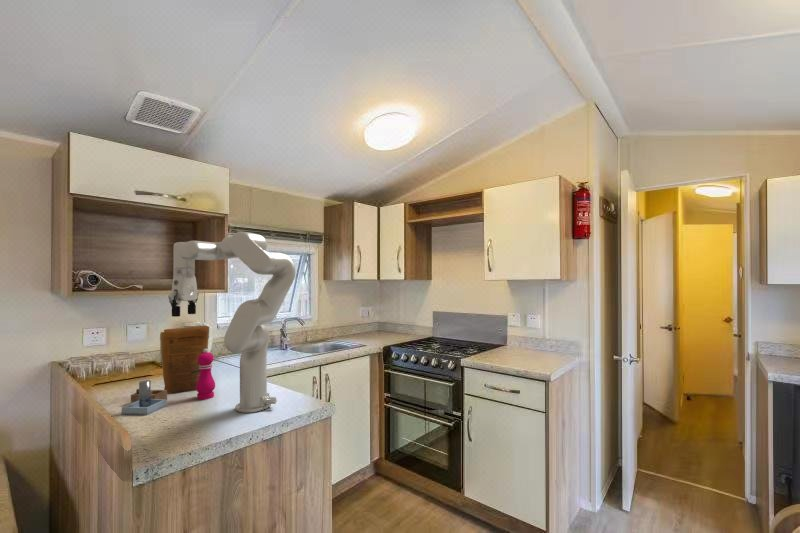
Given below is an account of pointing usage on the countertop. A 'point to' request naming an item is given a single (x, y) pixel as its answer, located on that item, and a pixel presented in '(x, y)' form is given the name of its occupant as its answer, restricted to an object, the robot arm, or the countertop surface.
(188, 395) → the countertop surface
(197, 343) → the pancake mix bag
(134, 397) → the tensioner block
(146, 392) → the lock pin
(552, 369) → the countertop surface
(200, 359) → the pepper mill
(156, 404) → the tray
